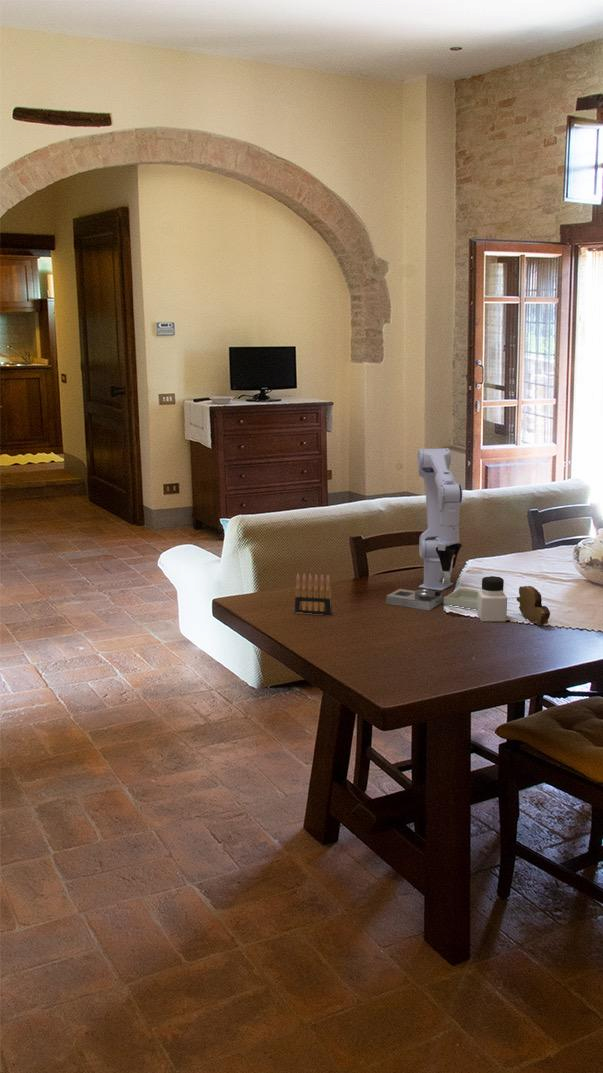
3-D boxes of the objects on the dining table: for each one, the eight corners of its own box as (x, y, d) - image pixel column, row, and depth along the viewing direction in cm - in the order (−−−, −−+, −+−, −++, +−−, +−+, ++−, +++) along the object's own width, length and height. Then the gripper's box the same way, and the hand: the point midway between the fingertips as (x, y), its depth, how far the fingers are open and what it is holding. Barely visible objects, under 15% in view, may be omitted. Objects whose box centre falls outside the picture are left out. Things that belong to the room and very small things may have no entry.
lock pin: (439, 579, 297) (443, 551, 296) (453, 582, 296) (457, 553, 294) (435, 582, 294) (439, 553, 292) (449, 584, 292) (453, 556, 290)
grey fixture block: (399, 596, 303) (399, 581, 302) (441, 603, 296) (442, 587, 295) (386, 603, 296) (386, 588, 295) (429, 610, 289) (429, 594, 288)
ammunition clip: (332, 614, 286) (331, 574, 283) (330, 615, 284) (330, 575, 282) (296, 612, 288) (295, 572, 286) (294, 613, 286) (294, 573, 284)
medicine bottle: (506, 621, 277) (507, 580, 274) (480, 621, 277) (482, 580, 275) (501, 614, 284) (503, 574, 281) (477, 614, 284) (478, 574, 282)
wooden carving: (555, 628, 270) (557, 593, 268) (541, 630, 269) (542, 595, 267) (524, 612, 286) (526, 579, 284) (510, 614, 284) (511, 580, 282)
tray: (458, 596, 303) (458, 588, 302) (492, 601, 297) (492, 593, 296) (443, 605, 294) (443, 597, 293) (478, 610, 288) (478, 602, 287)
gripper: (443, 519, 299) (443, 562, 302) (428, 528, 286) (427, 573, 289) (466, 520, 296) (465, 564, 299) (451, 530, 283) (450, 575, 286)
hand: (448, 569), depth 294 cm, fingers closed on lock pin, 4 cm apart
